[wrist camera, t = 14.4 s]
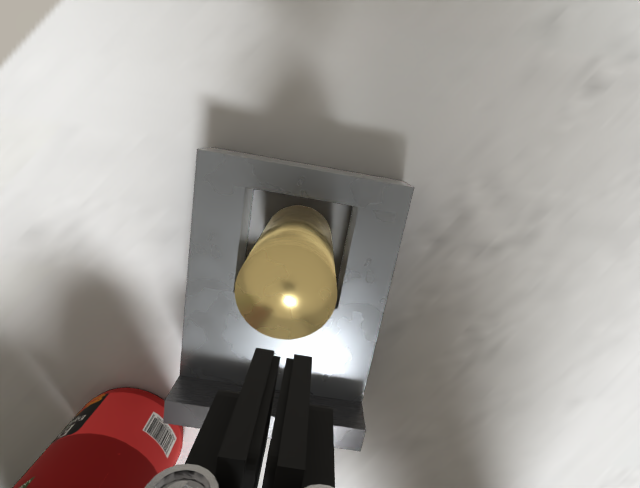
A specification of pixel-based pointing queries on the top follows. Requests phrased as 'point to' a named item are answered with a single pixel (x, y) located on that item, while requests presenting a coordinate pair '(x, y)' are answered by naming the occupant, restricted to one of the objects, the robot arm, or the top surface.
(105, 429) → the canned food
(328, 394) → the frame
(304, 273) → the pale yellow cylinder
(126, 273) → the top surface
